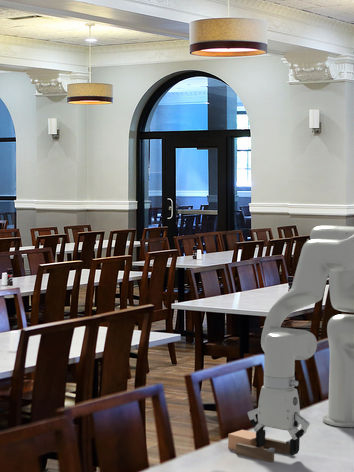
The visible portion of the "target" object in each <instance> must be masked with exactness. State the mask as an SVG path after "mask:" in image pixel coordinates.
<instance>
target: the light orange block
mask: <svg viewBox="0 0 354 472" xmlns="http://www.w3.org/2000/svg"><path fill="white" fill-rule="evenodd" d="M227 435H228V437H227V439H228V441H227V442H228V443H227V446H228V447H227V449H231V450H234V451H236V444H237V443H242V444H246V445H250V446H255V447H256V432H255V431H254V432H253V431H250V430H246V429H240V430H237V431H234V432H231V433H228V434H227ZM260 448H264V446H262V447H260Z"/></svg>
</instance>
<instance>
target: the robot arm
mask: <svg viewBox="0 0 354 472" xmlns="http://www.w3.org/2000/svg"><path fill="white" fill-rule="evenodd" d="M302 245H303V246H302V248H301V251H300V256H299V258H298V262H297V266H296V270H295V273H294V277H293V279H292V280H293V281H292V285H291V288H290V290H288V291H287V292H286V293H285V294H283V295H282V296H281V297H279V299H278V300H276V302H275V303H274V304H273V305H272V307H271V308H270V309H269V311H268V312H267V315H266V317H265V320H264V325H263V328H262V332H261V338H260V345H261V349H262V351H263V352H264V362H263V363H264V364H263V365H264V368H263V385H262V386H261V389H260V393H259V397H258V405H257V406H258V407H257V408H255V409H254V408H253V409H252V410H250V411H247V416H248V419H249V422H250V425H251V426H252V427H253V430H254V432H255V433H256V447H259V448H260V447H262V446H264V445H265V438H266V429H265V427H267V428H271V429H276V430H281V431H287V432H288V434H289V435H290V436H291V439H289V440H290V454H289V455H290V456H294V455H297V454H299V451H300V443H301V442H300V439H301V438H302V437H303V436H304V435H305V434H306V433H307V430H308V428H309V426H311V424H310V422H309V421H308V420H307V419H305V417H303V416H302V415H301V408H300V406H301V405H300V398H299V393H298V389H297V388H295V387H298V386H299V381H298V380H296V376H295V369H296V368H295V367H296V366H295V365H296V363H295V361H302V360H303V361H304V360H308V359H310V358H311V357H313V356H314V354H315V353H316V351H317V349H318V341H317V338H316V336H315V335H314V334H313V333H312V331H311V332H310V331H308V330H304V329H296V328H290V327H281V326H282V324H283V322H284V320H286V318H287V317H289V315H290V314H292V313H293V312H295V311H297V310H300V309H303V308H305V307H309V306H311V305H313V304H316V303H318V302H320V301H321V300H322V299H323V298H324V294H325V289H326V286H327V285H326V284H327V281H328V284H329V285H328V286H329V299H330V303H331V306H332V308H333V309H334V310H337V311H340V312H343V313H341V314H336V315H332V316H331V317H330V319H329V320H328V322H327V327H326V332H327V338H328V348H329V371H328V372H329V375H328V376H329V377H328V379H329V380H328V405H327V406H328V408H327V414H324V415H323V416H322V422H324V423H325V424H328V425H330V426H335V427H341V428H354V226H347V225H332V224H331V225H326V224H325V225H318V226H315V227H314V228H312V229H311V231H310V234H309V240H307V241H305V242H304V244H302ZM344 312H345V313H344ZM347 313H353V314H347ZM256 415H257V418H256ZM299 427H300V429H299Z"/></svg>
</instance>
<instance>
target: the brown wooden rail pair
mask: <svg viewBox="0 0 354 472" xmlns="http://www.w3.org/2000/svg"><path fill="white" fill-rule="evenodd" d="M275 452H278V453H282V454H287V455H290V439H289V440H286V441H284V440H283V441H282V440H278V439H273V438H269V437H265V445H264V448H259V447H255V446H250V445H246V444H242V443H237V444H236V450H235V455H239V456H244V457H249V458H252V459H257V460H261V461H265V462H270V463H273V462H275Z"/></svg>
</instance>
